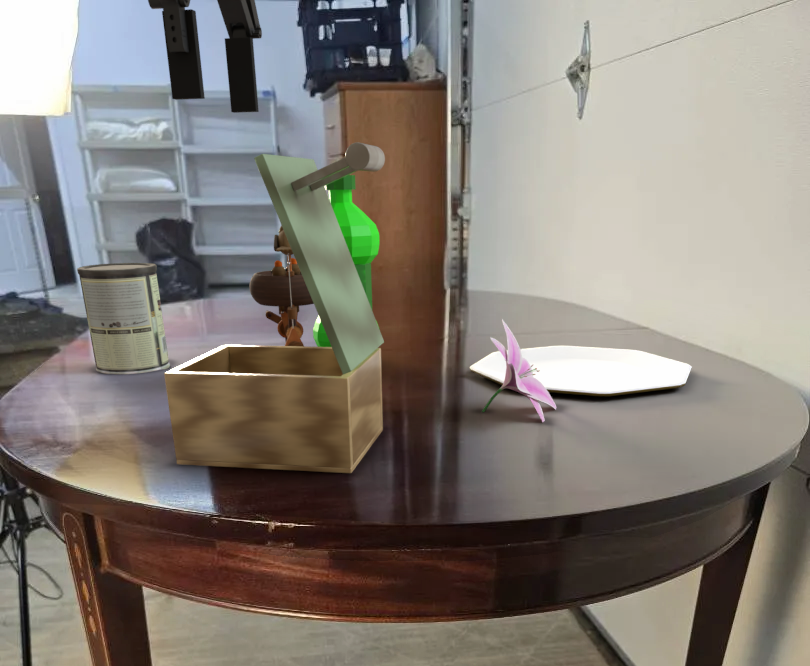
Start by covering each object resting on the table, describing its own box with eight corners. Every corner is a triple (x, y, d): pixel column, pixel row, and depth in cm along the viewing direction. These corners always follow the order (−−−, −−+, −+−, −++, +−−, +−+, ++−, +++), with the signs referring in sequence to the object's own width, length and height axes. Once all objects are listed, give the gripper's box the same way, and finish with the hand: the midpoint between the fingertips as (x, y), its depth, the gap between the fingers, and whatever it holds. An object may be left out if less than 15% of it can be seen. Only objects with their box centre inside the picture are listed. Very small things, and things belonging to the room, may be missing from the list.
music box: (354, 391, 97) (334, 220, 88) (270, 408, 94) (240, 232, 85) (317, 368, 110) (296, 217, 101) (242, 382, 106) (213, 227, 97)
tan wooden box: (177, 468, 71) (163, 372, 68) (232, 426, 83) (224, 344, 80) (351, 477, 69) (347, 378, 65) (383, 433, 81) (380, 348, 77)
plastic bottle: (300, 358, 117) (287, 176, 107) (358, 349, 123) (351, 176, 112) (335, 369, 110) (325, 174, 99) (395, 359, 115) (391, 174, 105)
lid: (253, 157, 59) (344, 113, 57) (306, 162, 71) (382, 126, 69) (342, 374, 65) (428, 342, 62) (377, 344, 77) (450, 317, 75)
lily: (500, 447, 79) (553, 366, 75) (426, 386, 84) (472, 307, 80) (553, 454, 88) (602, 382, 85) (484, 398, 94) (527, 328, 90)
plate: (544, 413, 87) (544, 400, 86) (442, 366, 110) (442, 356, 110) (735, 388, 96) (737, 377, 96) (604, 350, 120) (605, 340, 119)
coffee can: (87, 367, 112) (68, 265, 107) (156, 359, 118) (142, 261, 112) (107, 380, 105) (88, 271, 99) (180, 370, 110) (167, 266, 104)
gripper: (164, -261, 54) (201, 90, 63) (281, -130, 76) (296, 115, 85) (66, -249, 55) (116, 93, 64) (209, -124, 77) (231, 117, 86)
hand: (219, 106), depth 74 cm, fingers open, 13 cm apart
